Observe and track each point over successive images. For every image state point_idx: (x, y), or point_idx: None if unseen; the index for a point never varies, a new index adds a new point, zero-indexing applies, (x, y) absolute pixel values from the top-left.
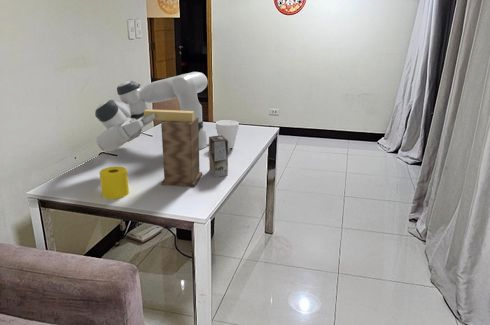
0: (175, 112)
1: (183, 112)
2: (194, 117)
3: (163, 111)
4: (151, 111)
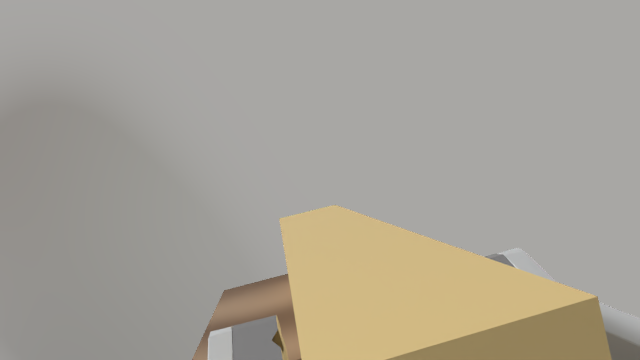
0: (358, 214)
1: (339, 209)
2: (228, 295)
3: (374, 229)
4: (466, 252)
